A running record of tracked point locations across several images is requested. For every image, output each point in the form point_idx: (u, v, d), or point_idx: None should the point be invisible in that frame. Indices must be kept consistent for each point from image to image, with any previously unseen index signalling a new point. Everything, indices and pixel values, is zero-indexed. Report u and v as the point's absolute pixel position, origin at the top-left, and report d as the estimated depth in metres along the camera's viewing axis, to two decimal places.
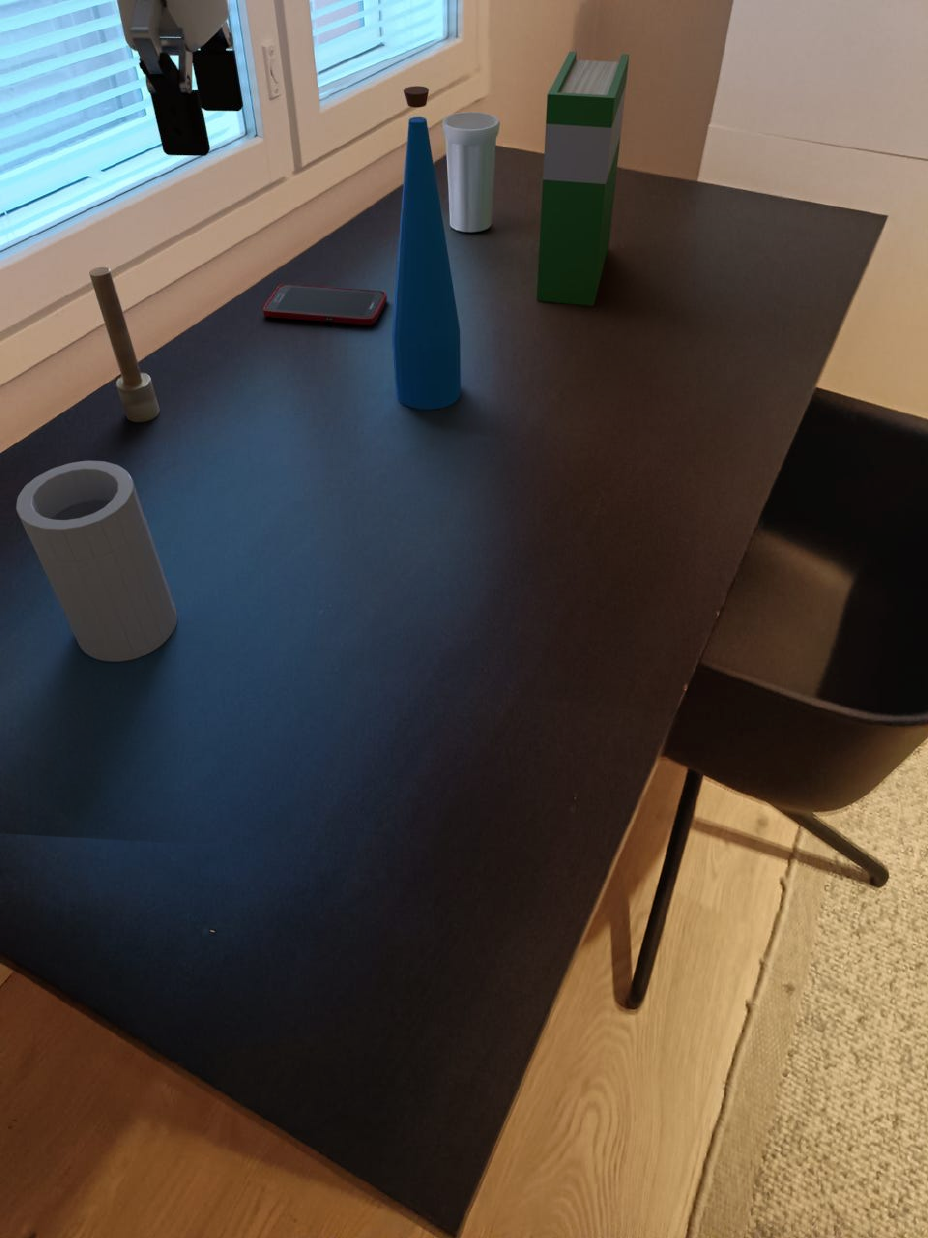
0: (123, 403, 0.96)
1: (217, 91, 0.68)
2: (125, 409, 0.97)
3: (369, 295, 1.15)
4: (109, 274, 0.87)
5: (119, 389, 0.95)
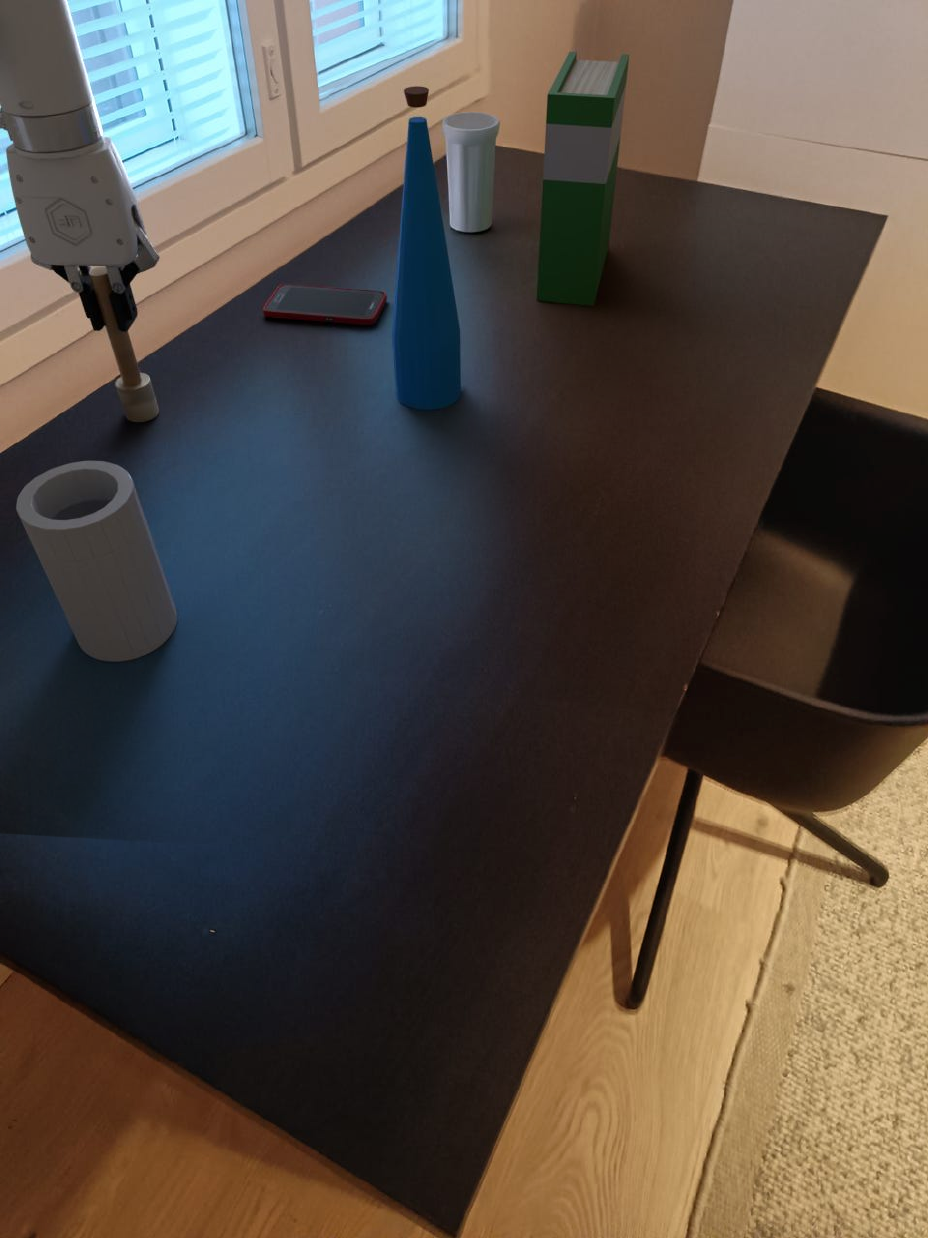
0: (122, 403, 0.96)
1: None
2: (124, 409, 0.97)
3: (369, 295, 1.15)
4: None
5: (118, 389, 0.95)
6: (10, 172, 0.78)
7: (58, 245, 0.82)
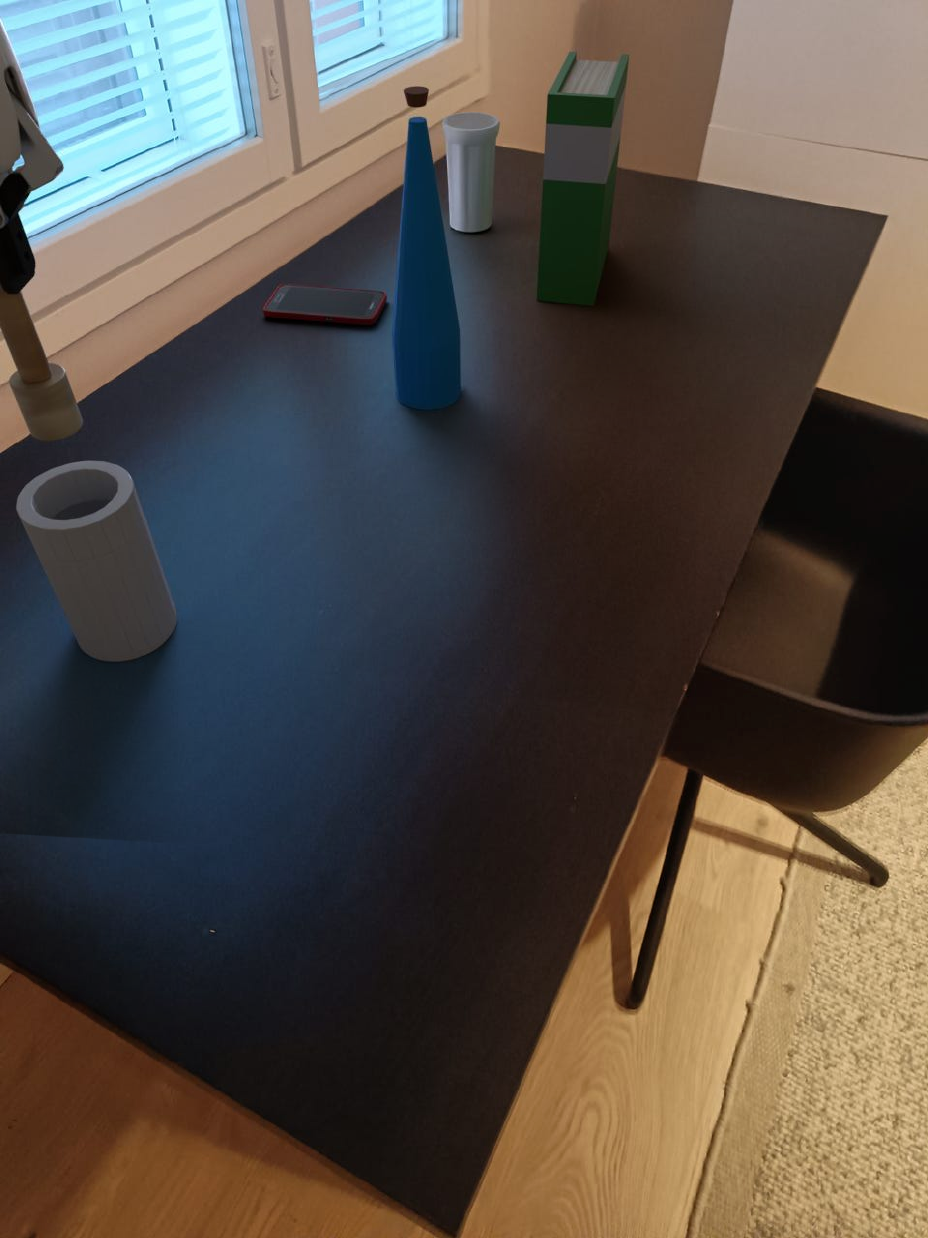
0: (22, 411, 0.61)
1: None
2: (26, 421, 0.61)
3: (369, 295, 1.15)
4: None
5: (13, 389, 0.59)
6: None
7: None
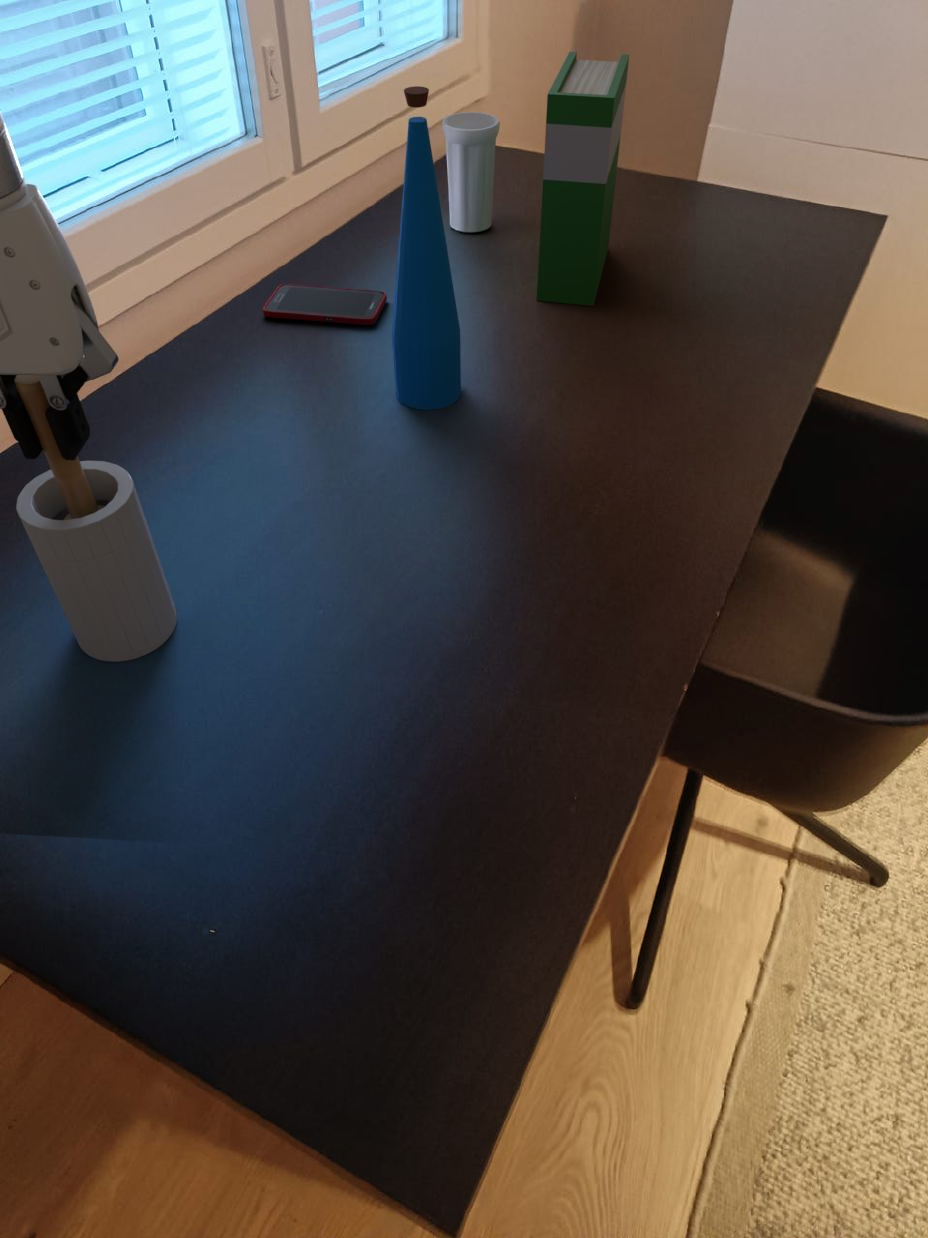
0: None
1: None
2: None
3: (369, 295, 1.15)
4: None
5: None
6: None
7: None
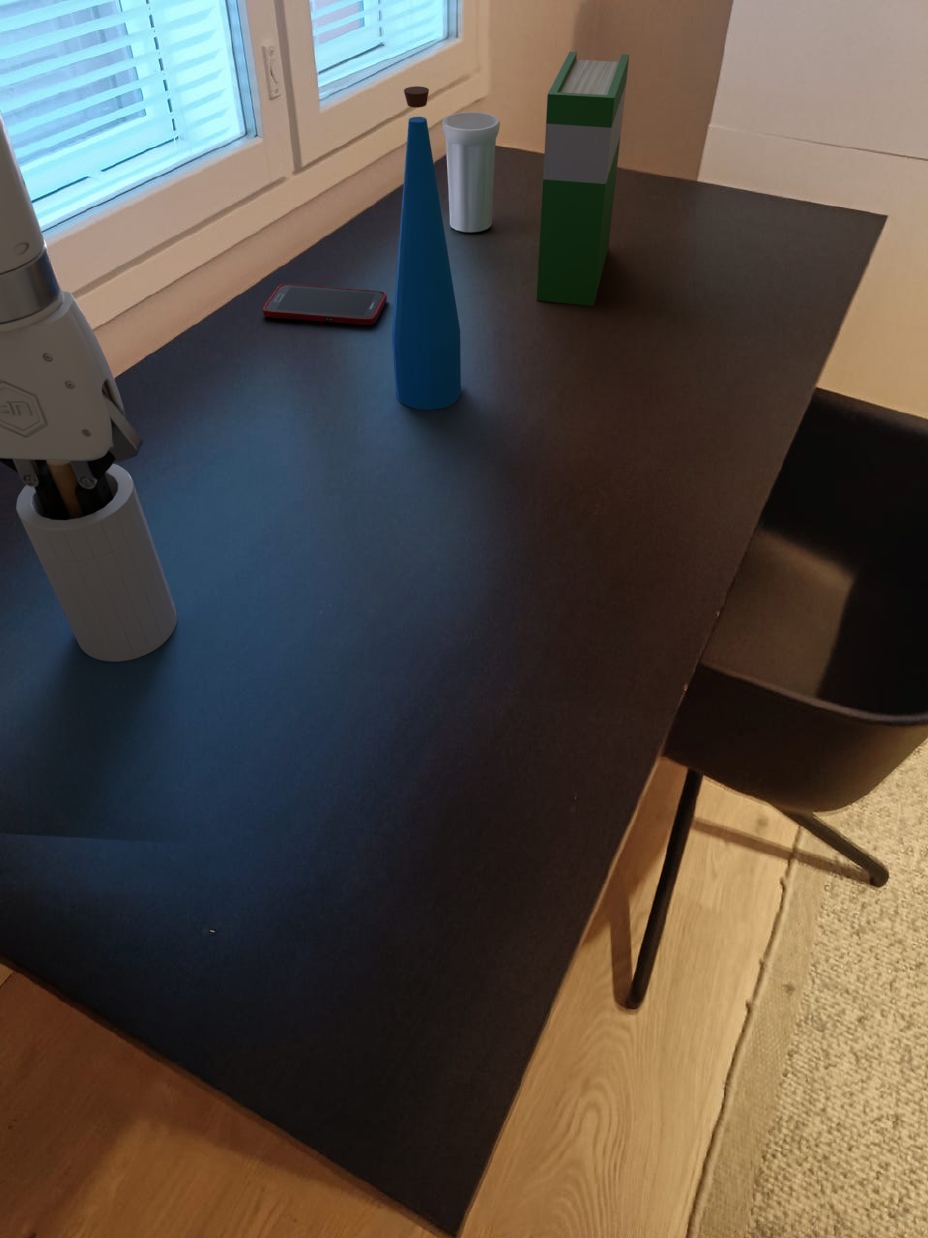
0: None
1: None
2: None
3: (369, 295, 1.15)
4: None
5: None
6: None
7: (0, 436, 0.59)
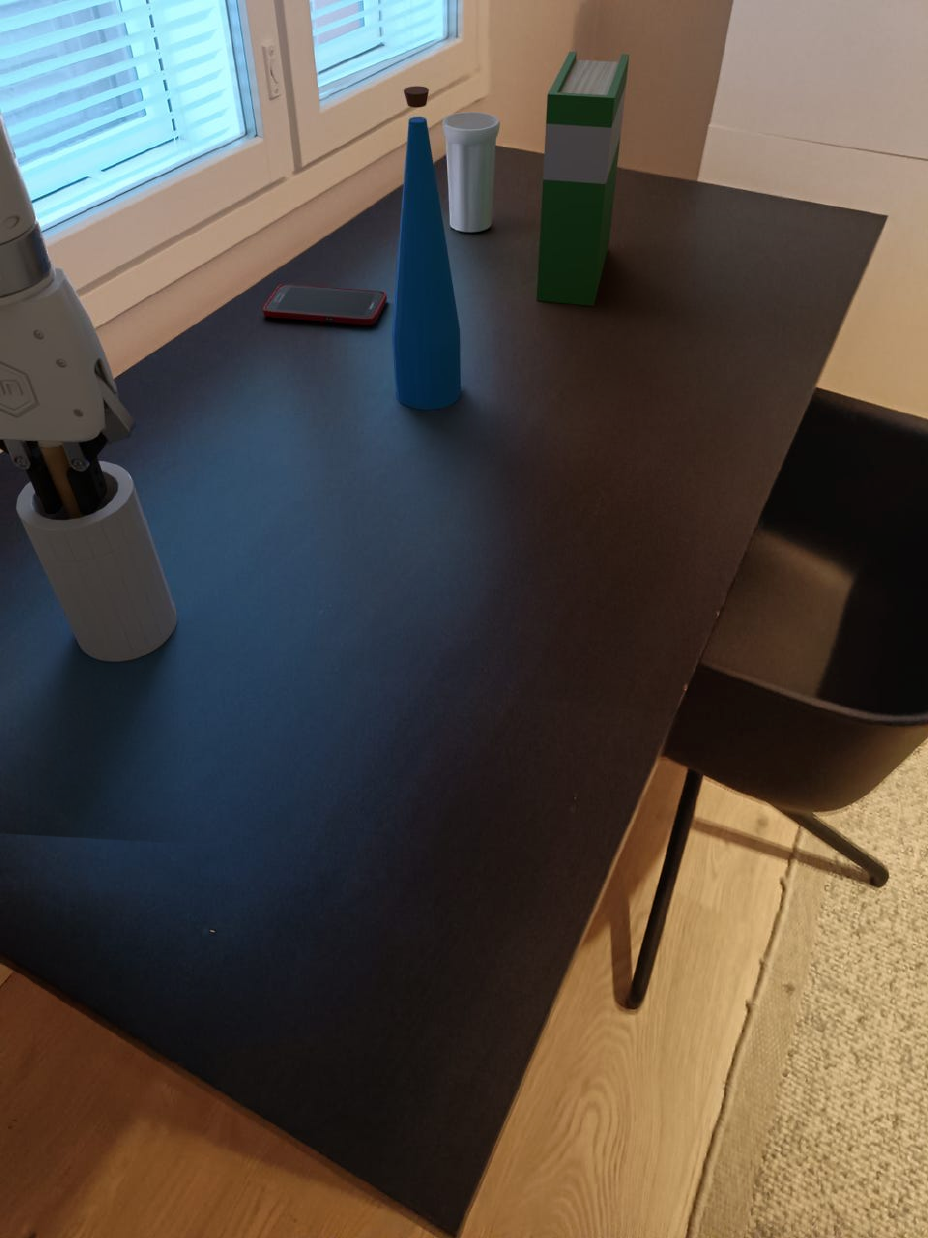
0: None
1: None
2: None
3: (369, 295, 1.15)
4: None
5: None
6: None
7: None
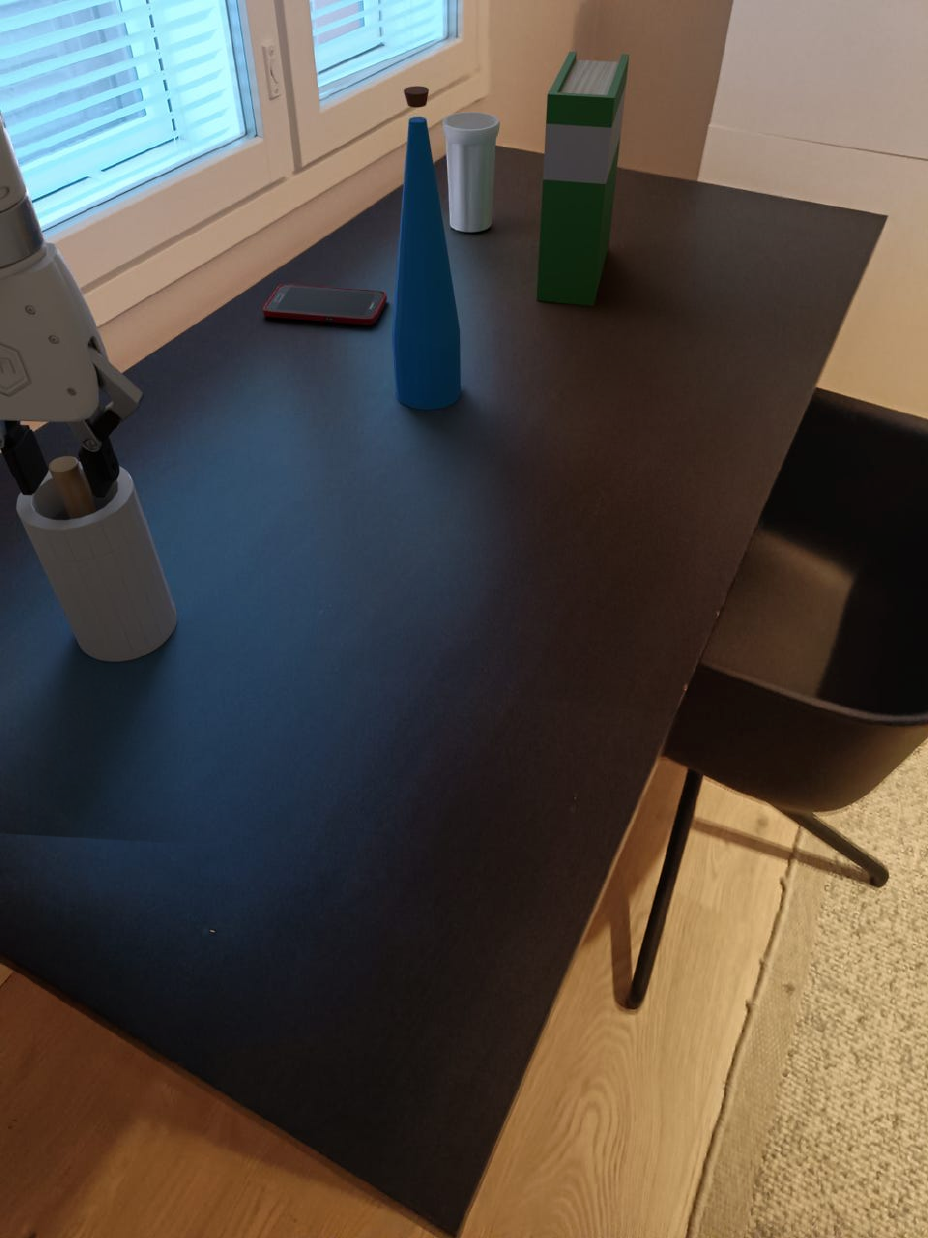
0: None
1: (35, 468, 0.64)
2: None
3: (369, 295, 1.15)
4: (75, 469, 0.64)
5: None
6: None
7: None
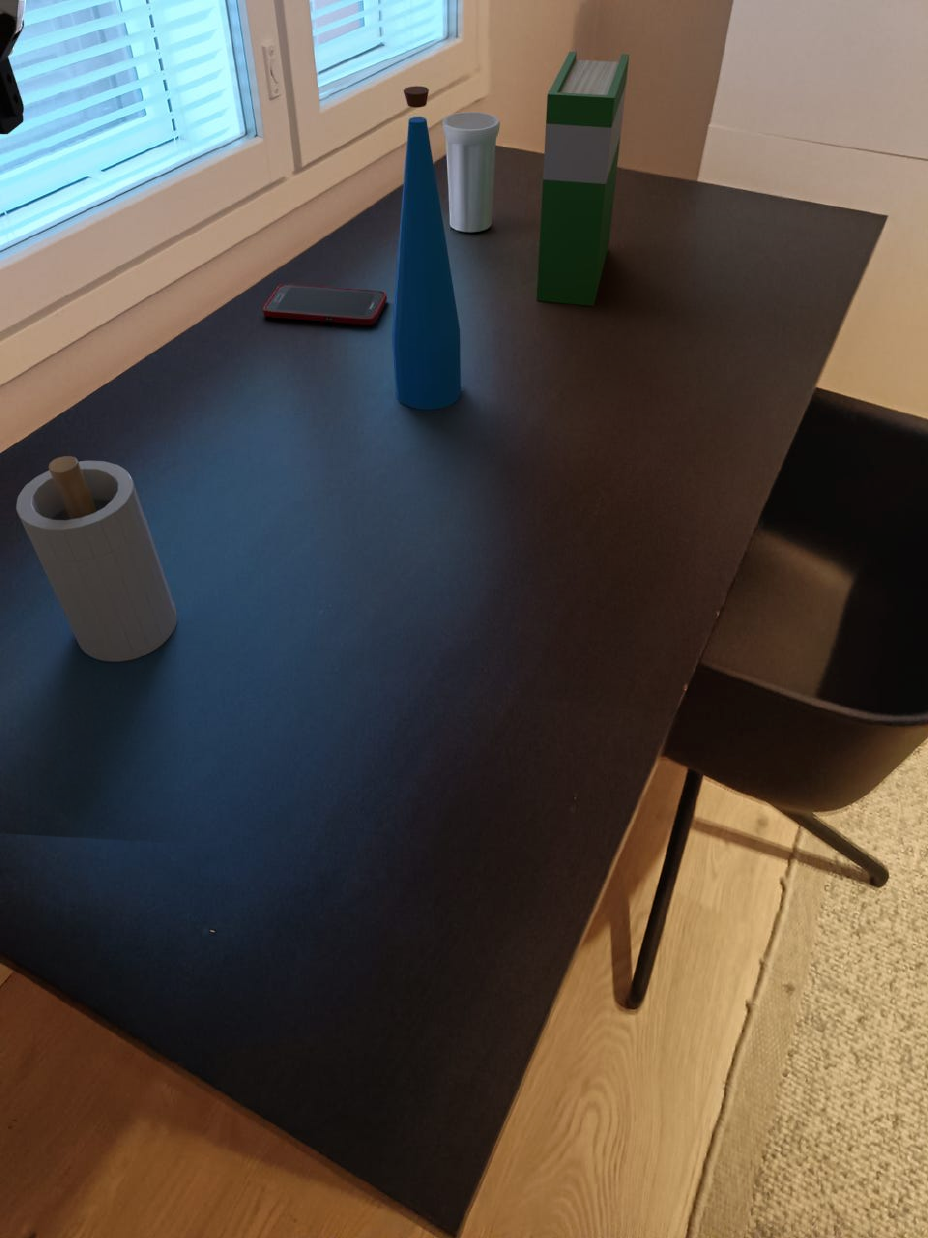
0: None
1: None
2: None
3: (369, 295, 1.15)
4: (76, 469, 0.64)
5: None
6: None
7: None
